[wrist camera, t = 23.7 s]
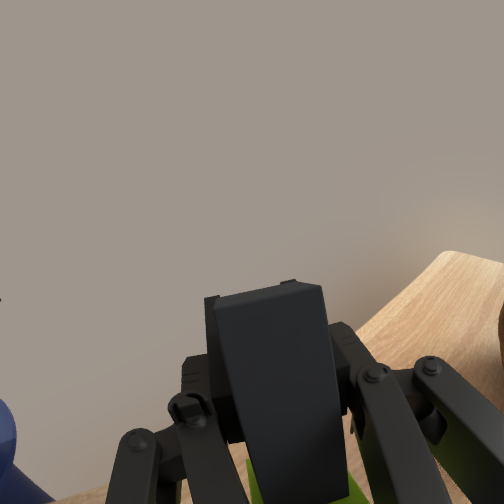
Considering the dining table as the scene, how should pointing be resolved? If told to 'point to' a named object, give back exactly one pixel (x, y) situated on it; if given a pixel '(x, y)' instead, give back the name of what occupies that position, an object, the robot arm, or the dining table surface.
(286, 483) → the two-tone block stack
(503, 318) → the bowl
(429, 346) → the dining table surface
